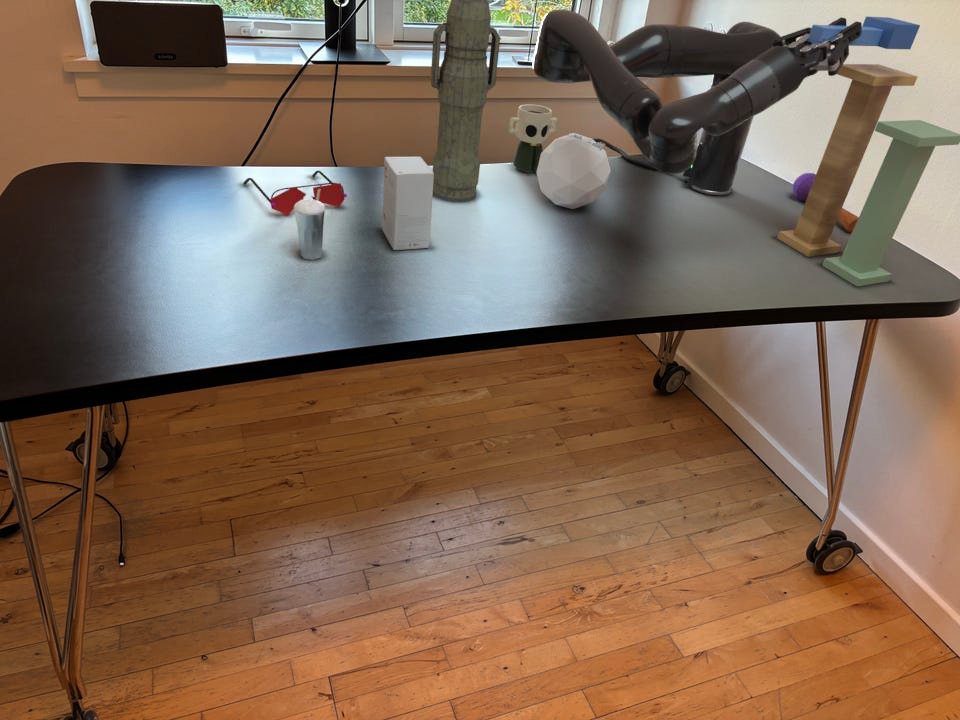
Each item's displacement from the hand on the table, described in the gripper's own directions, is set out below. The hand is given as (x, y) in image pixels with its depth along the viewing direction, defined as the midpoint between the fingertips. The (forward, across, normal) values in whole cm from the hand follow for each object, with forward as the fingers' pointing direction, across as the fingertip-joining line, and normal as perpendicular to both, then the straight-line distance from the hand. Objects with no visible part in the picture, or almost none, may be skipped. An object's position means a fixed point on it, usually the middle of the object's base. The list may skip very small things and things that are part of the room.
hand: (851, 25), depth 110 cm
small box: (-76, +19, +1) cm, 78 cm away
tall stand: (-11, 0, +38) cm, 40 cm away
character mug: (-43, +46, +20) cm, 66 cm away
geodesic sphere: (-44, +27, +20) cm, 55 cm away
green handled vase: (-61, +36, +9) cm, 72 cm away
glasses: (-88, +40, -6) cm, 97 cm away
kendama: (+4, +12, +47) cm, 49 cm away
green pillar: (-11, -12, +38) cm, 41 cm away
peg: (+1, 0, +3) cm, 4 cm away
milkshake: (-90, +16, -7) cm, 91 cm away
